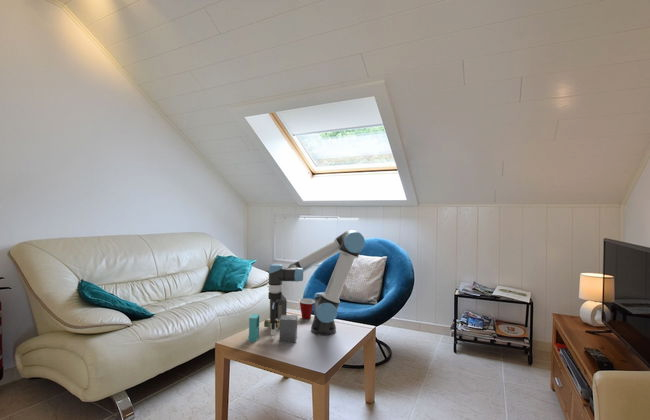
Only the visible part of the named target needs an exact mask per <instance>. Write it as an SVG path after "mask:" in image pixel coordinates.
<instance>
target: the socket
mask: <svg viewBox="0 0 650 420" xmlns="http://www.w3.org/2000/svg"><path fill="white" fill-rule="evenodd" d="M259 337H260V313H252V314H251V315H250V316H249V317H248V342H250V343H251V342H253V343H256V342H257V341H258V339H259Z"/></svg>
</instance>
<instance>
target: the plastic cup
mask: <svg viewBox="0 0 650 420" xmlns="http://www.w3.org/2000/svg"><path fill="white" fill-rule="evenodd" d="M298 301H299V305H300V306H299V307H300V314H301V319H303V320H309V319H311V316H312V311H313V309H314V308H313V307H314V305H315V299H312V298H299V300H298Z"/></svg>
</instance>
